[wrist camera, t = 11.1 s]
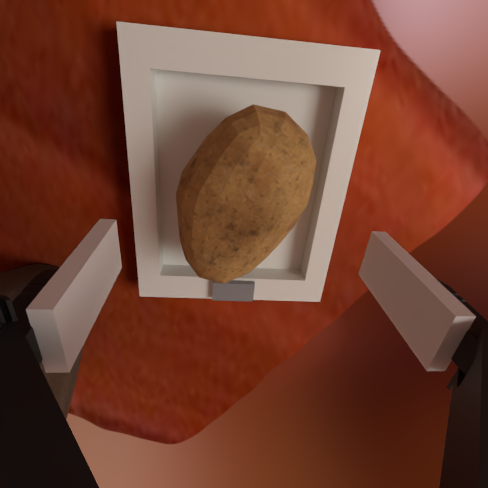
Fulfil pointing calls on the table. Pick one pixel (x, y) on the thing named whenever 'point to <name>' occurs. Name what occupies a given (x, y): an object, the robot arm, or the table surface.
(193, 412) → the table surface
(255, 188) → the potato
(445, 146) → the table surface
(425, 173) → the table surface
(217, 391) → the table surface
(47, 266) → the plant pot
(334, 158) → the white rimmed tray
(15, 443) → the robot arm
